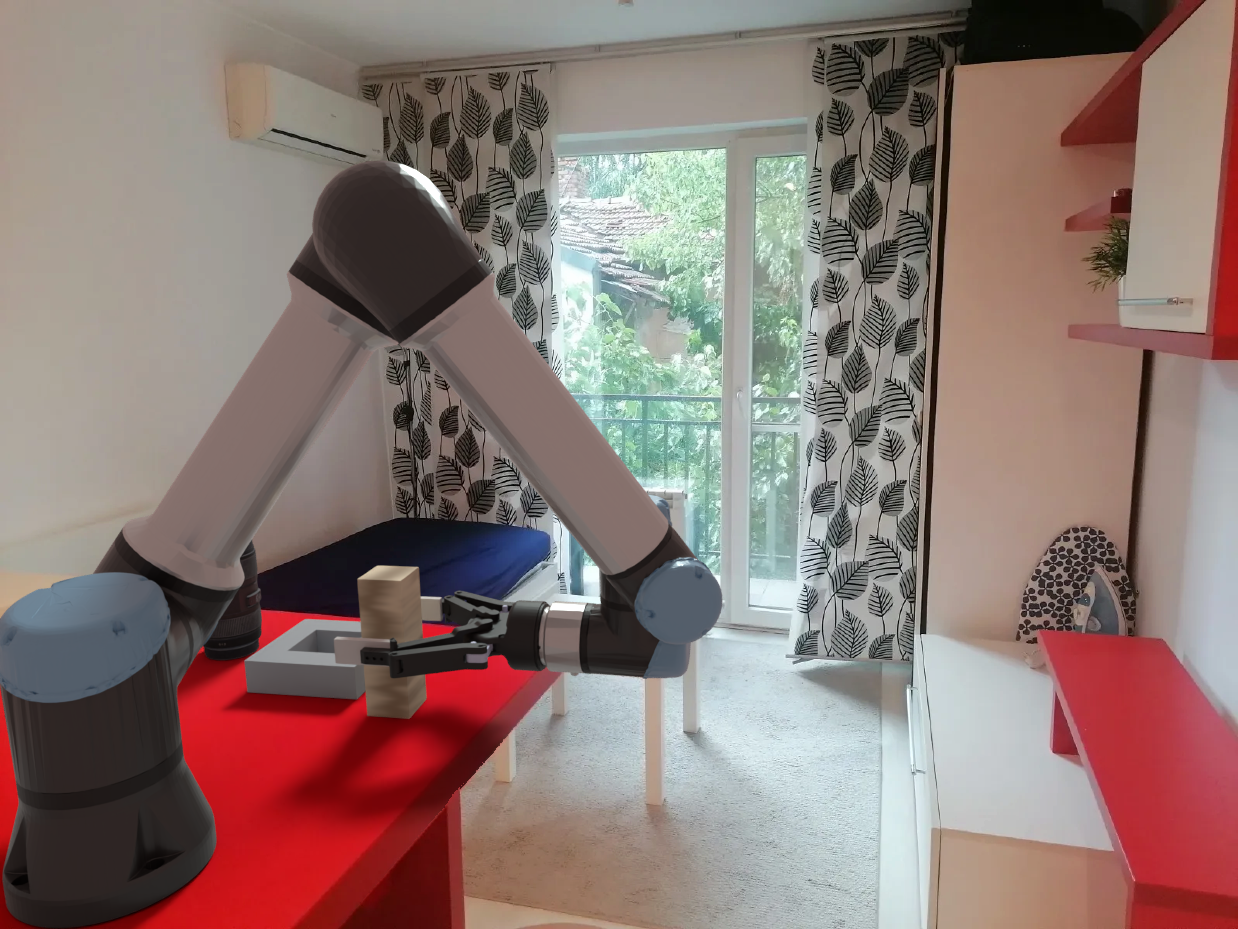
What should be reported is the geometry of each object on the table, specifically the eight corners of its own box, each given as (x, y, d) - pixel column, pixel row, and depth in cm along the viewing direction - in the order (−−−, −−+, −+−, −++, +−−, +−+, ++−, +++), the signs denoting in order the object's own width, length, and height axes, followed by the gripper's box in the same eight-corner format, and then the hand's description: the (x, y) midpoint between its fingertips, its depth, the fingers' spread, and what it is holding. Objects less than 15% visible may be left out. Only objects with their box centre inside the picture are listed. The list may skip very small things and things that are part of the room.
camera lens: (246, 634, 123) (236, 531, 121) (276, 648, 118) (266, 541, 115) (188, 652, 117) (176, 544, 114) (216, 668, 112) (204, 554, 109)
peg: (426, 698, 102) (418, 567, 99) (409, 718, 97) (400, 580, 95) (386, 696, 103) (377, 565, 100) (367, 715, 98) (357, 579, 95)
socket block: (405, 652, 116) (403, 623, 115) (356, 699, 102) (354, 667, 102) (307, 647, 118) (305, 619, 118) (247, 692, 105) (244, 660, 104)
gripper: (517, 721, 84) (311, 707, 88) (573, 627, 108) (410, 619, 112) (514, 647, 83) (305, 636, 86) (572, 569, 107) (407, 563, 110)
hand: (364, 627), depth 99 cm, fingers open, 13 cm apart
